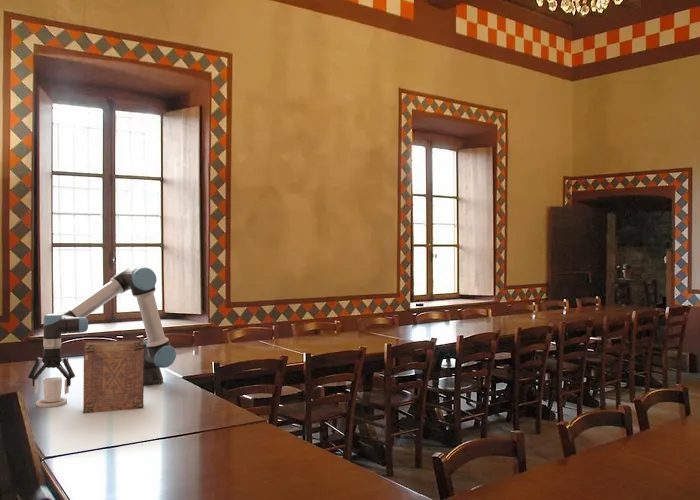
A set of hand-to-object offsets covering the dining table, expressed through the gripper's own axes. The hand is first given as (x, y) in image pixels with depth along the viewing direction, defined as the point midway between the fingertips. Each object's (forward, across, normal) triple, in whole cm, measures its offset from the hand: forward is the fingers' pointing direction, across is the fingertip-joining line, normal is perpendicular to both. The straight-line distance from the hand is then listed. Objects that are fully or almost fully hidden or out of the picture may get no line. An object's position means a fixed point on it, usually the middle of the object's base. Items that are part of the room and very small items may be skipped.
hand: (51, 393), depth 293 cm
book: (+5, +31, -9) cm, 33 cm away
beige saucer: (+5, 0, 0) cm, 5 cm away
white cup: (+4, 0, 0) cm, 4 cm away
